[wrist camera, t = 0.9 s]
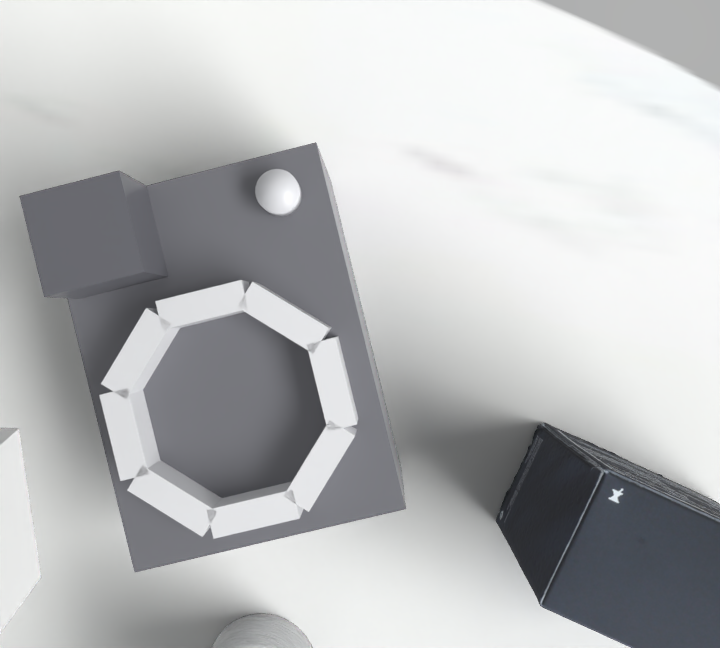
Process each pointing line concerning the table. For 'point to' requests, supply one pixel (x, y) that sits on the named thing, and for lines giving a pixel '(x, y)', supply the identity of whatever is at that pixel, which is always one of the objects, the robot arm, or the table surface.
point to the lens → (262, 633)
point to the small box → (615, 544)
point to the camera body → (221, 352)
